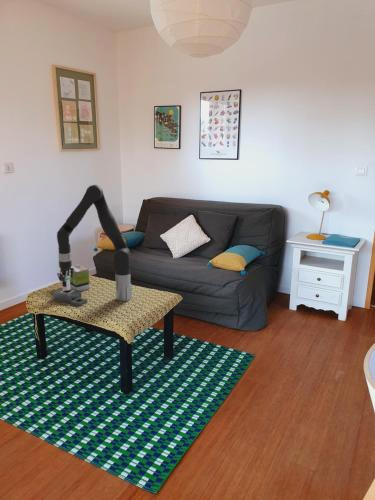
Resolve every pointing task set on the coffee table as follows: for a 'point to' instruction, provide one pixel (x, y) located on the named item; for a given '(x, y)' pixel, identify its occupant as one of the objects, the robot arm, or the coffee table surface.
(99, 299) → the coffee table surface
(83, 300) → the gray square frame
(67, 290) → the plug
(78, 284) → the tea box
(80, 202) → the robot arm
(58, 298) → the port
